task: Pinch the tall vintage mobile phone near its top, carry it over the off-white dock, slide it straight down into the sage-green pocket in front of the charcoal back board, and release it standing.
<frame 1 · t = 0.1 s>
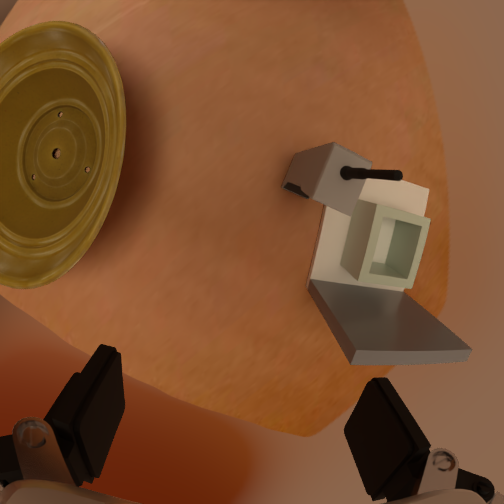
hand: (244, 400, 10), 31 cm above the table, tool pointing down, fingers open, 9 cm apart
planter bowl: (61, 153, 36), on the table
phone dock: (370, 235, 41), on the table
vintage mobile phone: (300, 176, 39), on the table
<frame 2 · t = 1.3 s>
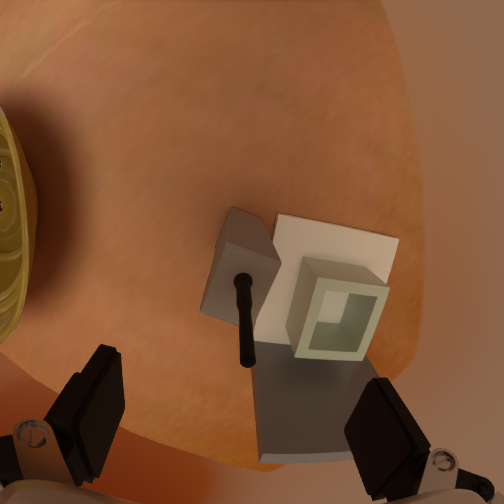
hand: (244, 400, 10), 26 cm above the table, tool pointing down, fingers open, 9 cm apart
planter bowl: (5, 204, 32), on the table
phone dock: (323, 293, 37), on the table
vintage mobile phone: (238, 231, 35), on the table
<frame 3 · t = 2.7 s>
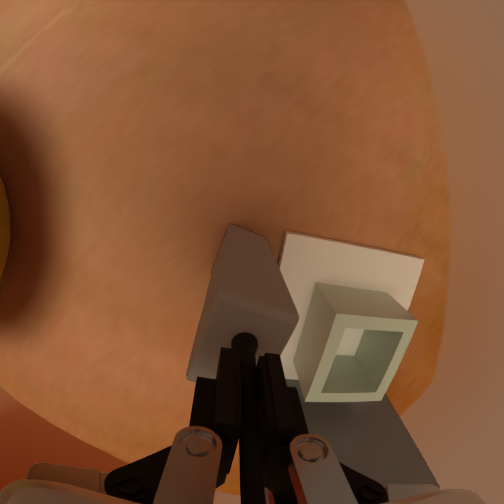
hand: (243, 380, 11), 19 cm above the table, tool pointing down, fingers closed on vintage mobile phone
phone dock: (337, 322, 32), on the table
vintage mobile phone: (238, 253, 29), on the table, touching gripper
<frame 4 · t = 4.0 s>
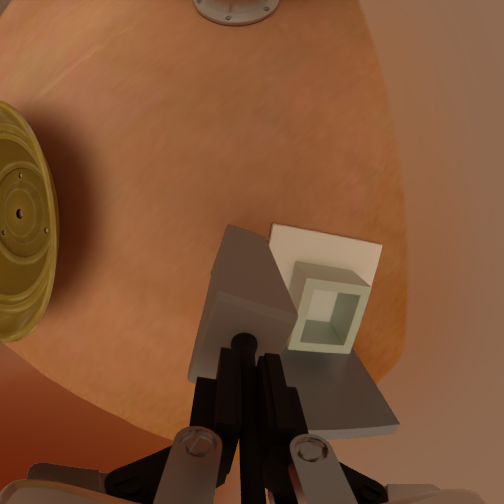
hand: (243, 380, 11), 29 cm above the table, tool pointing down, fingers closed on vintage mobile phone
planter bowl: (24, 212, 37), on the table
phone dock: (314, 294, 42), on the table
vintage mobile phone: (237, 253, 29), point 11 cm above the table, touching gripper
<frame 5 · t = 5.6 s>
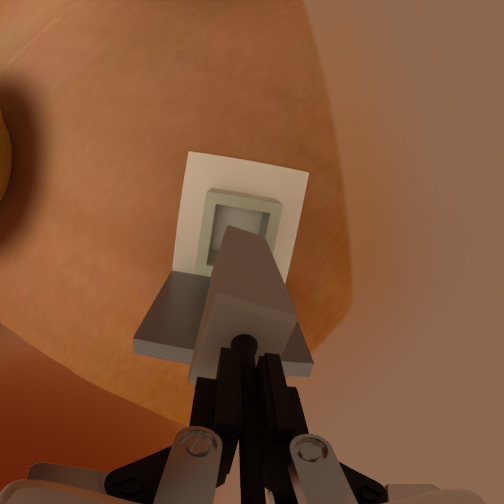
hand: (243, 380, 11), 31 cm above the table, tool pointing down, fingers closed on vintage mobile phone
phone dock: (237, 226, 41), on the table
vintage mobile phone: (237, 253, 29), point 12 cm above the table, touching gripper
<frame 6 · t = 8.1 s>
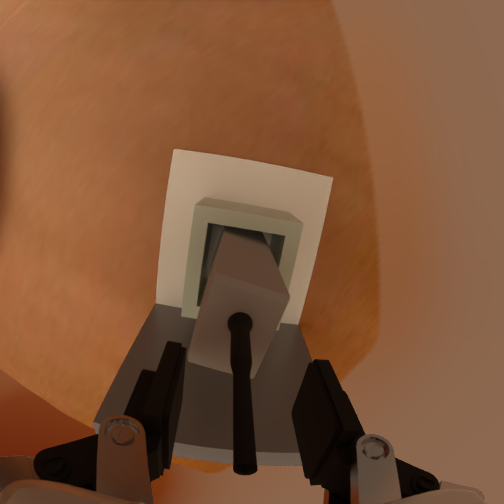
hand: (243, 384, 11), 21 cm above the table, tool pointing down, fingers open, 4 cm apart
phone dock: (238, 247, 31), on the table
vintage mobile phone: (236, 247, 30), point 1 cm above the table, touching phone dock
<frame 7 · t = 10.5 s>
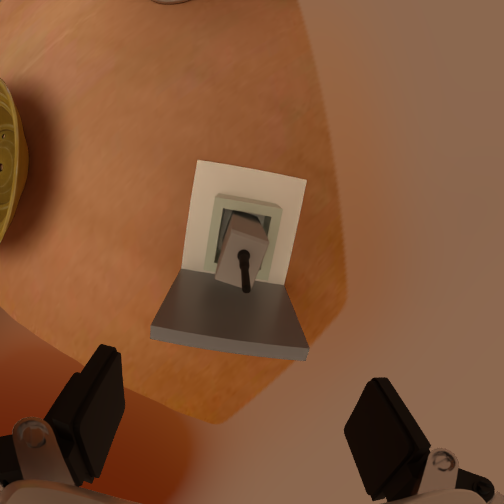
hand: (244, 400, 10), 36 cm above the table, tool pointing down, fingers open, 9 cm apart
planter bowl: (4, 166, 39), on the table
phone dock: (241, 228, 45), on the table
vintage mobile phone: (239, 227, 44), point 1 cm above the table, touching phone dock
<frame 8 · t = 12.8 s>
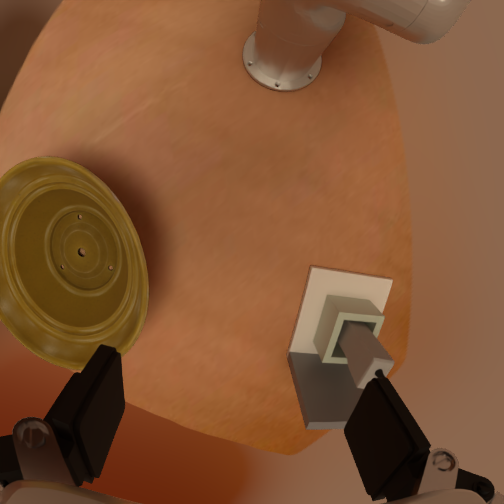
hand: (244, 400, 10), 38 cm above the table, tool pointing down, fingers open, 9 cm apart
planter bowl: (85, 250, 47), on the table
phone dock: (339, 317, 52), on the table
vintage mobile phone: (339, 319, 51), point 1 cm above the table, touching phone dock
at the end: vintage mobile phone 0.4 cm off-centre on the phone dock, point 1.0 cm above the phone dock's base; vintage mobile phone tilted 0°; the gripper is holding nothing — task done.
